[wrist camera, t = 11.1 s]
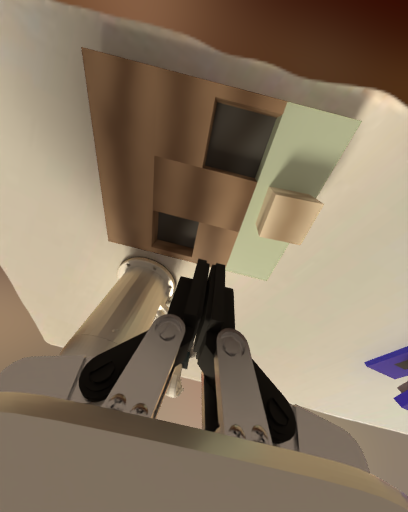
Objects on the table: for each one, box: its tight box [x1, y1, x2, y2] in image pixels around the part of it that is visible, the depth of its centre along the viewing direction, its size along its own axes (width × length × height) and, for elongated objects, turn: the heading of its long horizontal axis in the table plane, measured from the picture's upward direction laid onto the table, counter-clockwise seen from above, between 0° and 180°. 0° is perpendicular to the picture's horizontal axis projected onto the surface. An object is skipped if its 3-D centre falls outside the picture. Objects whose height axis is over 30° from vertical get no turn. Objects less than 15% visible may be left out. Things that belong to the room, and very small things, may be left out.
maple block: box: [255, 186, 324, 245], centre depth 20 cm, size 5×5×4 cm
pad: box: [225, 102, 362, 281], centre depth 24 cm, size 8×22×3 cm, turn 168°
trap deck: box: [81, 47, 288, 268], centre depth 24 cm, size 20×22×3 cm
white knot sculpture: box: [166, 352, 190, 398], centre depth 50 cm, size 6×8×11 cm
